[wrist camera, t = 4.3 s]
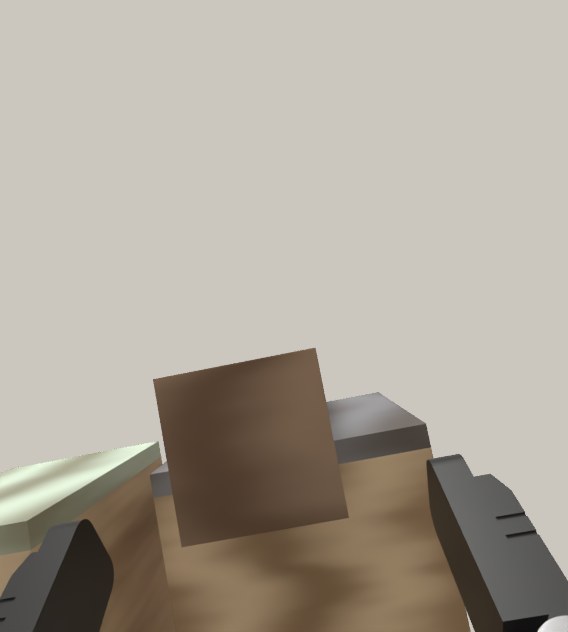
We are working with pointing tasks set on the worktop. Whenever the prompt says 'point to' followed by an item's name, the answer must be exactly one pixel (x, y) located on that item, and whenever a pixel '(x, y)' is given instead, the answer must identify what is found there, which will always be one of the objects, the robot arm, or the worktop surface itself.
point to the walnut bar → (250, 448)
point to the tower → (95, 526)
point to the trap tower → (328, 546)
